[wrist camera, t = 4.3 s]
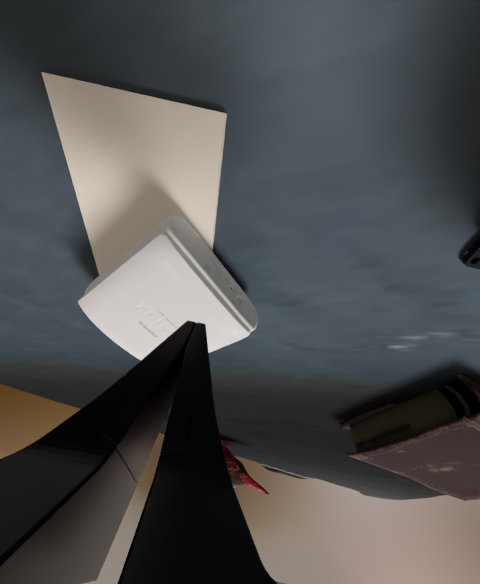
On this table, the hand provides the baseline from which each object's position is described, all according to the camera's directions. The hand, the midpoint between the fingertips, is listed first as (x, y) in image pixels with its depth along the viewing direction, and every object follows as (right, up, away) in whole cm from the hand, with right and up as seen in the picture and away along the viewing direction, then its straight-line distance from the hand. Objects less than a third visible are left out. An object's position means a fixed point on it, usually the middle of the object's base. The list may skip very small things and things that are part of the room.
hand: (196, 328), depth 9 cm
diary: (+32, -18, +21) cm, 43 cm away
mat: (-5, +6, +7) cm, 10 cm away
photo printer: (+1, +3, +5) cm, 6 cm away
